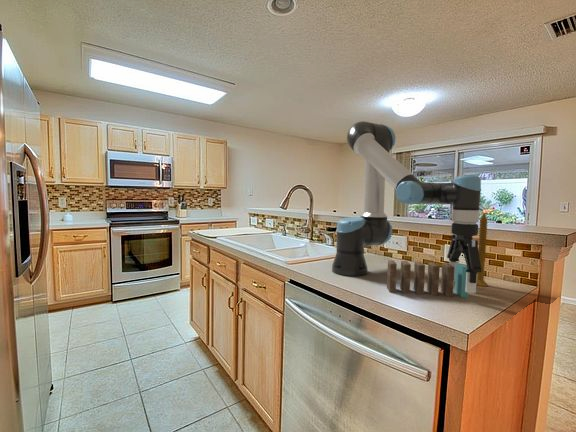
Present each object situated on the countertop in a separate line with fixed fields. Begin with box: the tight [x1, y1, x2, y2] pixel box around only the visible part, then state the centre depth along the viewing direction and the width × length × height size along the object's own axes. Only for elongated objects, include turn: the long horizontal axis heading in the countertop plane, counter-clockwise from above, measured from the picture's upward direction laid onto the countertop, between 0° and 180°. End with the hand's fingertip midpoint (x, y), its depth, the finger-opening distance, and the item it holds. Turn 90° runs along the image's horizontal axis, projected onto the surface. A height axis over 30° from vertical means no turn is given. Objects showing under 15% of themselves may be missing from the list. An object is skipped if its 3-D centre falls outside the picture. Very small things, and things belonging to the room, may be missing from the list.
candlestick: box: [476, 212, 489, 287], centre depth 106 cm, size 27×5×5 cm
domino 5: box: [440, 262, 455, 297], centre depth 96 cm, size 2×5×10 cm, turn 170°
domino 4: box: [426, 261, 441, 297], centre depth 97 cm, size 2×5×10 cm, turn 170°
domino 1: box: [386, 259, 398, 294], centre depth 99 cm, size 2×5×10 cm, turn 170°
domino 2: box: [399, 260, 412, 295], centre depth 98 cm, size 2×5×10 cm, turn 170°
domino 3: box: [412, 261, 426, 296], centre depth 97 cm, size 2×5×10 cm, turn 170°
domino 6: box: [454, 263, 469, 298], centre depth 95 cm, size 2×5×10 cm, turn 170°
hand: (461, 285), depth 95 cm, fingers open, 13 cm apart
